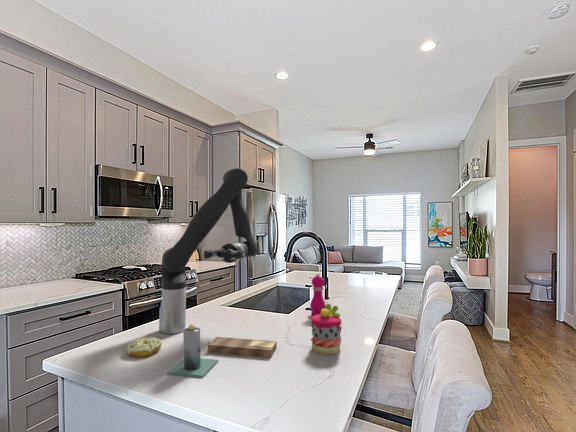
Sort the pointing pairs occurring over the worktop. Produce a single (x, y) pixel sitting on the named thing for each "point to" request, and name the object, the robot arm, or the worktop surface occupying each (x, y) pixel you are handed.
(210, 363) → the felt mat
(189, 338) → the cylinder with brass knob
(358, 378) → the worktop surface
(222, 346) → the plane body
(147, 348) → the decorated donut
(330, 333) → the cake
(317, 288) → the pepper mill
